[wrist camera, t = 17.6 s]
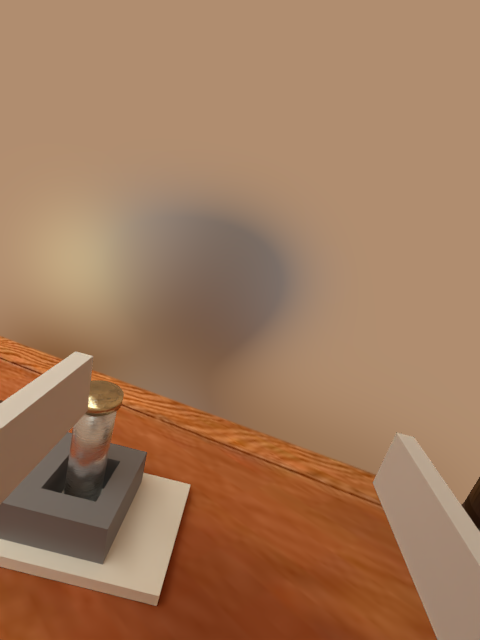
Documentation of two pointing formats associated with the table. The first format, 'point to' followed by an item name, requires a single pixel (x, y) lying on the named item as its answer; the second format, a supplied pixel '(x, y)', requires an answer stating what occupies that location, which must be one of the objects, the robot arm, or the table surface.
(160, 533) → the board
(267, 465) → the table surface
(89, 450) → the steel pin
